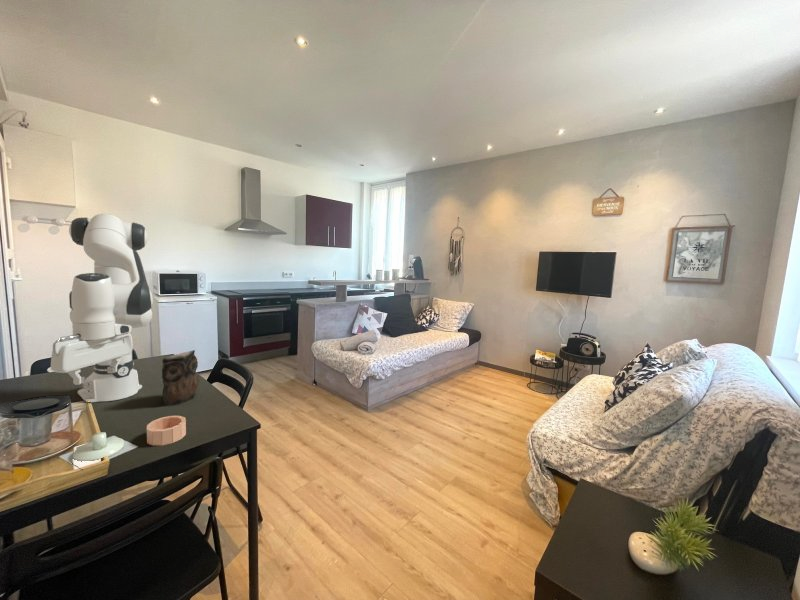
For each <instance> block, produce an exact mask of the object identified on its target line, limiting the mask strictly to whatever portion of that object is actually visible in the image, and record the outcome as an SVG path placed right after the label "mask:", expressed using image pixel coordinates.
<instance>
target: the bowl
mask: <svg viewBox="0 0 800 600" xmlns="http://www.w3.org/2000/svg"><path fill="white" fill-rule="evenodd" d="M185 436H187V419H186V417H185V416H181V415H167V416H163V417H159V418H157V419H154V420H152V421H151V422H149V423H148V424H146V444H148V445H151V446H166V445H169V444H170V445H171V444H173V443H175V442H178V441H180V440H182V439H183V438H184V437H185Z"/></svg>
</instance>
